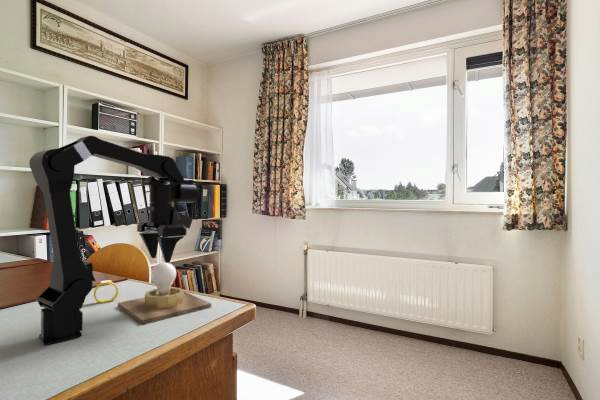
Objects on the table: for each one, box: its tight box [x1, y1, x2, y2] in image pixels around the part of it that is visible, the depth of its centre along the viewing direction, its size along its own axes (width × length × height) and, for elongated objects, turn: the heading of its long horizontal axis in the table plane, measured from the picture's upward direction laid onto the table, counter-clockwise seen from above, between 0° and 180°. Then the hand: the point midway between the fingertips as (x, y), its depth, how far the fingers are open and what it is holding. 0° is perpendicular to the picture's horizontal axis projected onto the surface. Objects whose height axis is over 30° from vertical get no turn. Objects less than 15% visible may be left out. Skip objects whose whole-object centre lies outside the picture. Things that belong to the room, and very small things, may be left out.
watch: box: [93, 279, 119, 304], centre depth 94 cm, size 6×3×6 cm, turn 127°
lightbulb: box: [150, 261, 177, 296], centre depth 90 cm, size 6×6×11 cm
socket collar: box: [144, 286, 185, 309], centre depth 90 cm, size 10×10×3 cm
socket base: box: [117, 291, 212, 325], centre depth 90 cm, size 18×18×1 cm
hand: (160, 260), depth 89 cm, fingers open, 9 cm apart
